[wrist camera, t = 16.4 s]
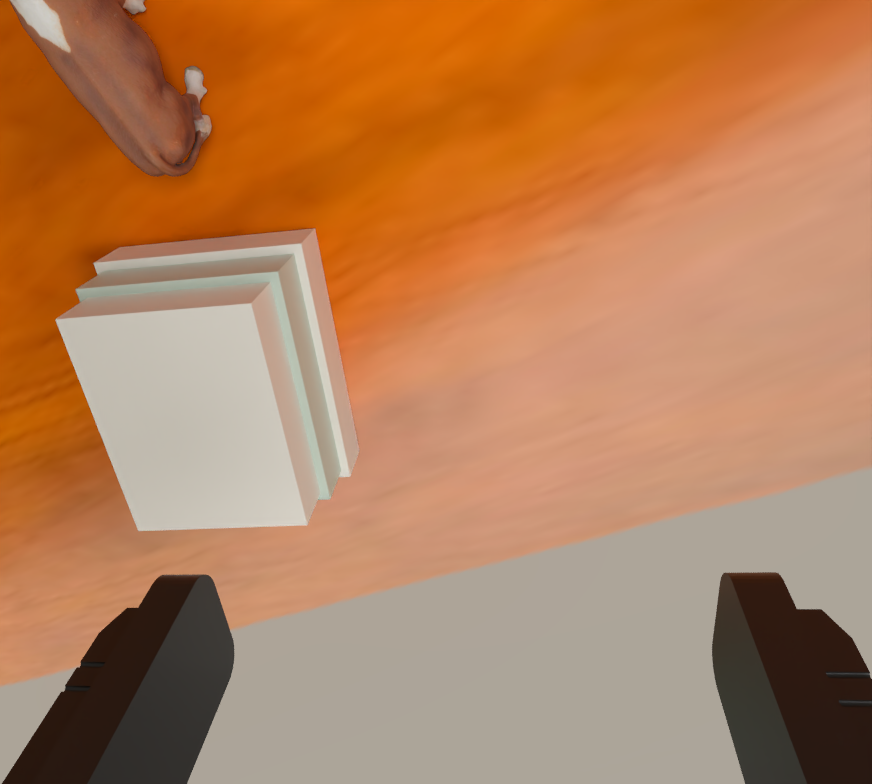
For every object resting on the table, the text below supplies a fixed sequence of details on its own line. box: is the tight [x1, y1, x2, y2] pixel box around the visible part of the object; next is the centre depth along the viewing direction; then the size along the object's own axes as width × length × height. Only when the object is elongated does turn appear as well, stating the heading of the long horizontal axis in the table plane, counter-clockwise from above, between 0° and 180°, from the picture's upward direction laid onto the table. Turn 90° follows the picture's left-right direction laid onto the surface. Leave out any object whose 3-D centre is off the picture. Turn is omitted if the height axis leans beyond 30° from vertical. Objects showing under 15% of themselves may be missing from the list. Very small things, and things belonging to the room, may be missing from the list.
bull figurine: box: [10, 0, 212, 176], centre depth 33 cm, size 4×13×8 cm, turn 26°
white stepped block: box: [55, 228, 359, 531], centre depth 41 cm, size 15×12×9 cm
